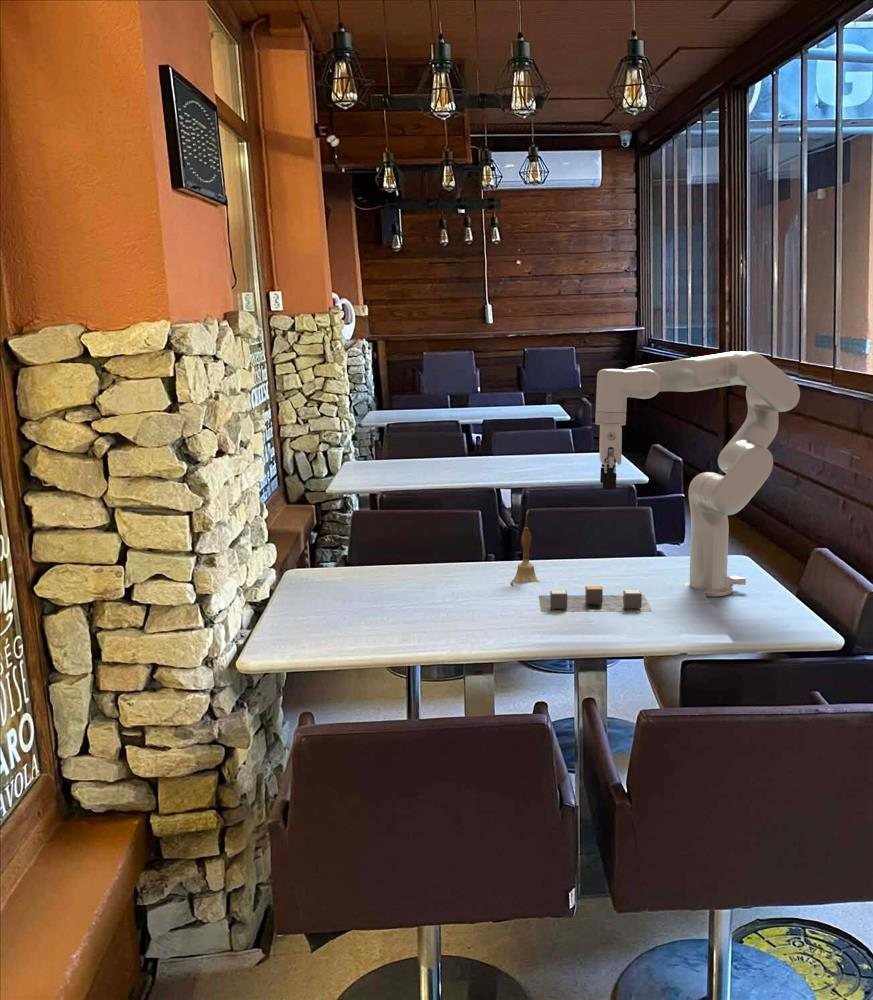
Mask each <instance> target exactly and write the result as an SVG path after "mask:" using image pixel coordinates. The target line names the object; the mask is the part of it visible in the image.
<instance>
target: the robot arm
mask: <svg viewBox="0 0 873 1000" xmlns="http://www.w3.org/2000/svg"><path fill="white" fill-rule="evenodd" d="M736 385H737V386H746V390H745V398H746V403H747V415H746V418H745V420H744V422H743V424H741V427H740V428H739V429H738V431H737V432H736V433H735V434H734V435H733V437H732V438H731V439H730V440H729V441H728V443H727V444H726V445H725V446H724V448H723V449H722V450H721V451H720V453H719V455H718V458H717V465H718V467H719V469H720V470H721V471H722V473H725V475H723V474H720V473H716V472H712V471H710V472H709V471H706V472H705V471H704V472H701V473H698V474H696V476H695V477H693V478H692V480H691V481H690V483H689V487H688V503H689V509H690V544H689V545H690V546H689V547H690V549H689V581H687V582H685V583H684V584H683V586H687V587H688V586H690V587H691V588H693V589H696V590H701V591H702V592H703V594H704V595H705V596H706V597H709V598H710V597H713V598H715V597H724V596H728V595H730V594H732V593H733V589H734V585H740V586H741V585H742V586H744V585H746V584H747V582H746V581H747V580H746V577H739V575H737V576H736V575H733V576H730V575H729V573H728V562H729V561H728V556H729V553H728V552H729V534H730V533H729V530H730V529H729V528H730V527H729V518H728V516H733V515H736V514H737V513H739V512H740V511H741V510H742V509H744V508H745V506H746V505H748V503H749V502H750V501H751V499H752V498H754V496H755V495H756V493H757V492H758V491H759V490H760V488H761V487H762V486H763V485H764V483H765V482H766V481H767V479H768V478H769V477H770V475H771V472H772V471H773V467H774V457H773V454H772V452H771V451H770V450H769V449H768V447H769V446H770V445H771V443H772V442H773V440H774V439H775V438H776V435H777V433H778V431H779V424H780V423H779V413H782V412H783V413H785V412H789V411H791V410H792V409H794V408H796V407H797V405H798V403H799V400H800V397H801V391H800V387H799V385H798V384H797V383H796V381H795V380H794V379H793V378H791V377H790V376H789V375H788V374H787V373H785V372H784V371H783V370H781V368H779V367H777V366H776V364H774V363H773V362H771V361H770V360H768V359H767V358H766V357H765V356H763V355H761V354H759V353H757V352H755V351H742V350H741V351H738V350H736V351H734V350H733V351H727V352H721V353H715V354H708V355H703V356H702V355H700V356H695V357H690V358H682V359H675V360H672V361H671V360H669V361H663V362H654V363H648V364H642V365H634V366H629V367H627V368H624V369H622V368H621V369H620V368H603V369H600V370H598V372H597V375H596V395H595V399H596V400H595V423H594V424H595V425H597V426H599V440H598V441H599V446H598V447H599V448H598V450H599V460H600V464H601V467H600V477H599V479H600V480H599V481H600V484H602V489H603V490H616V489H617V466H616V465H618V466H620V465H621V464H622V447H623V446H622V445H623V443H622V442H623V441H622V440H623V437H622V436H623V435H622V434H623V432H622V431H623V430H622V426H626V424H627V423H626V422H627V402H628V401H627V399H628V398H635V399H642V400H646V399H648V400H649V399H652V398H653V397H655V396H656V395H657V394H659V392H680V393H681V392H683V393H688V392H699V391H705V390H710V389H715V388H723V387H729V386H736Z"/></svg>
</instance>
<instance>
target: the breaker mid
mask: <svg viewBox="0 0 873 1000" xmlns="http://www.w3.org/2000/svg"><path fill="white" fill-rule="evenodd" d="M584 588H585V593H584V595H585V600H586V603H603V595H604V594H603V593H604V589H603V587H602V585H586V586H584Z"/></svg>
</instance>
